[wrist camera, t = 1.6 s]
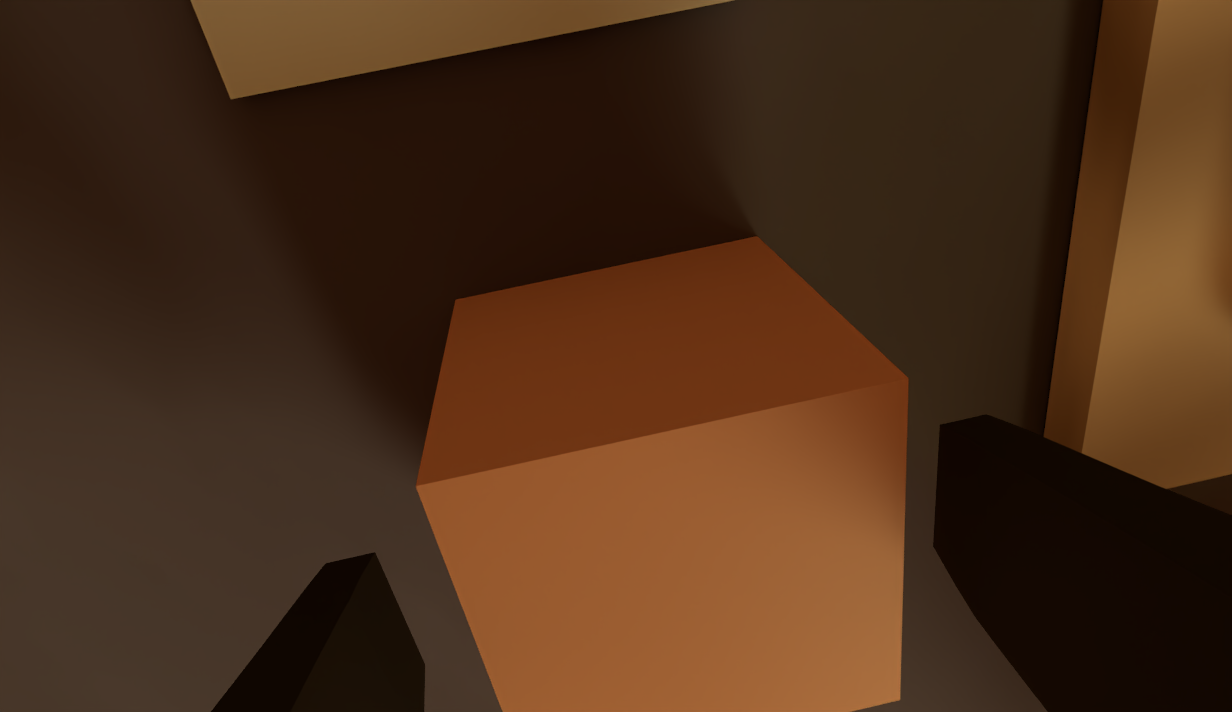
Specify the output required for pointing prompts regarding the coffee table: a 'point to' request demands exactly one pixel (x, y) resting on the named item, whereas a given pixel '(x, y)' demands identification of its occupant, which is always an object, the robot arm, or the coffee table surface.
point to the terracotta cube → (672, 490)
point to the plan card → (385, 33)
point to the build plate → (1152, 250)
